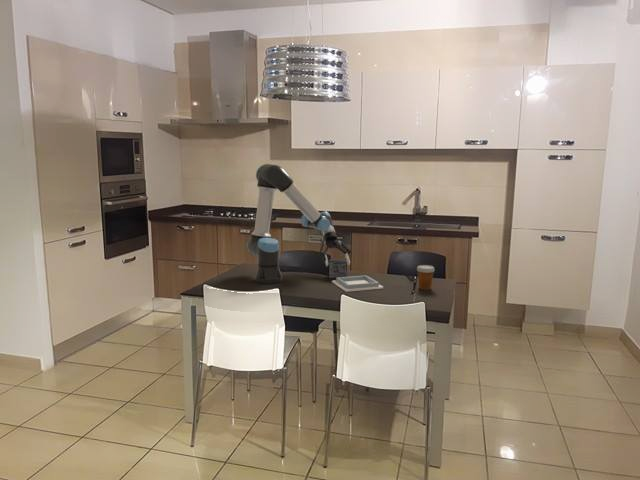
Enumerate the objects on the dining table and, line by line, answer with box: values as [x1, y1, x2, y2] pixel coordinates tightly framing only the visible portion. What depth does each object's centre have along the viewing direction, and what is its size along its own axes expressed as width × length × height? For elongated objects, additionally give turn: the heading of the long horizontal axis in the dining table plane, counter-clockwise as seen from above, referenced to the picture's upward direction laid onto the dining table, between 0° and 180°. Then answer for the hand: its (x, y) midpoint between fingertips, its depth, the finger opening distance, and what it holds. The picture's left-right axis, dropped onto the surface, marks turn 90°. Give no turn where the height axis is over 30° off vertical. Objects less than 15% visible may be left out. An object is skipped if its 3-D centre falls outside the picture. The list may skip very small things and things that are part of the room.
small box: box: [328, 258, 348, 280], centre depth 296 cm, size 11×6×10 cm, turn 86°
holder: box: [331, 274, 384, 293], centre depth 280 cm, size 22×20×3 cm
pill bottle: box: [416, 264, 436, 291], centre depth 276 cm, size 10×10×12 cm
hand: (338, 264), depth 298 cm, fingers open, 13 cm apart
